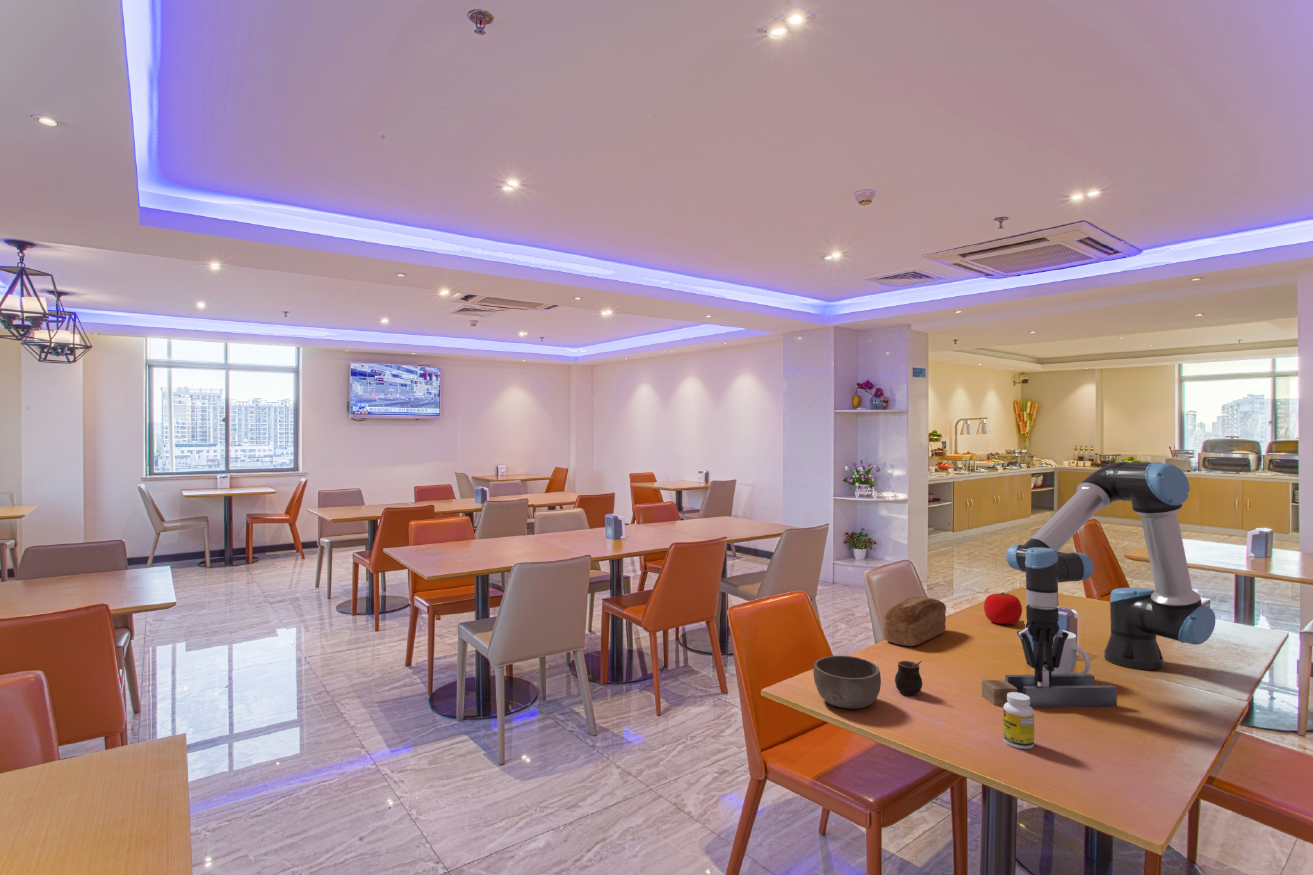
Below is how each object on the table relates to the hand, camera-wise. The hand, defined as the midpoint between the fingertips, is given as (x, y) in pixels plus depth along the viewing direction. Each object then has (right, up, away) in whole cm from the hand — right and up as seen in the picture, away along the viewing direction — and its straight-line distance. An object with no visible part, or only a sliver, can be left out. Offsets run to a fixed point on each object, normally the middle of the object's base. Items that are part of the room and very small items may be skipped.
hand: (1043, 693), depth 177 cm
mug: (+14, -2, +16) cm, 21 cm away
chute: (+4, -2, 0) cm, 5 cm away
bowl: (-53, -2, -1) cm, 53 cm away
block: (-12, -2, 0) cm, 12 cm away
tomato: (+29, -2, +75) cm, 80 cm away
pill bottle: (-21, -2, -26) cm, 33 cm away
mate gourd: (-34, -2, +6) cm, 35 cm away
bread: (-12, -3, +57) cm, 58 cm away
